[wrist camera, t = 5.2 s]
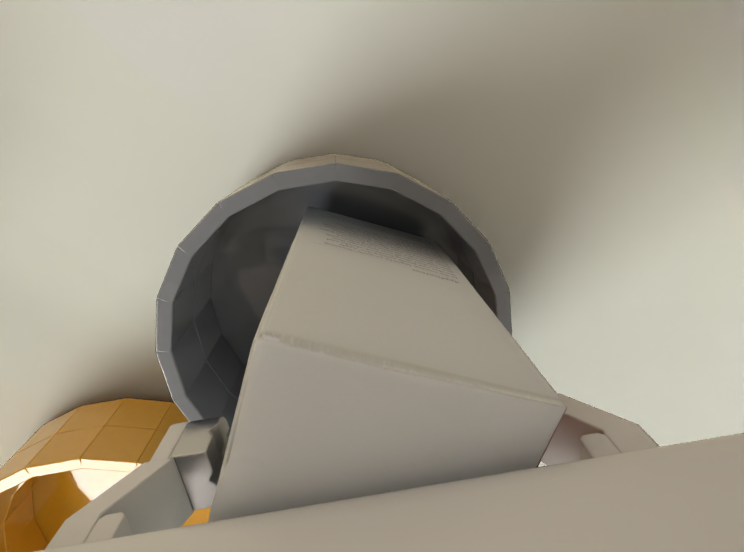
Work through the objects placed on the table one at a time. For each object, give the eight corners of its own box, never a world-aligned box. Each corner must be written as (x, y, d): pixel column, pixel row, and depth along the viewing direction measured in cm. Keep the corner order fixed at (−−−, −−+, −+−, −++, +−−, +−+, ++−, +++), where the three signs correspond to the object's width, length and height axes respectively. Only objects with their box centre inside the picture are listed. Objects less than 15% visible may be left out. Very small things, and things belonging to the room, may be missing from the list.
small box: (390, 384, 23) (441, 680, 11) (269, 357, 22) (176, 647, 10) (441, 237, 21) (578, 407, 9) (307, 200, 20) (245, 331, 8)
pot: (456, 132, 21) (501, 135, 15) (478, 382, 25) (519, 457, 20) (166, 180, 21) (101, 201, 15) (239, 425, 25) (210, 512, 19)
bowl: (246, 371, 24) (224, 432, 19) (302, 571, 29) (295, 658, 24) (-32, 420, 24) (-124, 493, 19) (71, 613, 28) (19, 711, 24)
